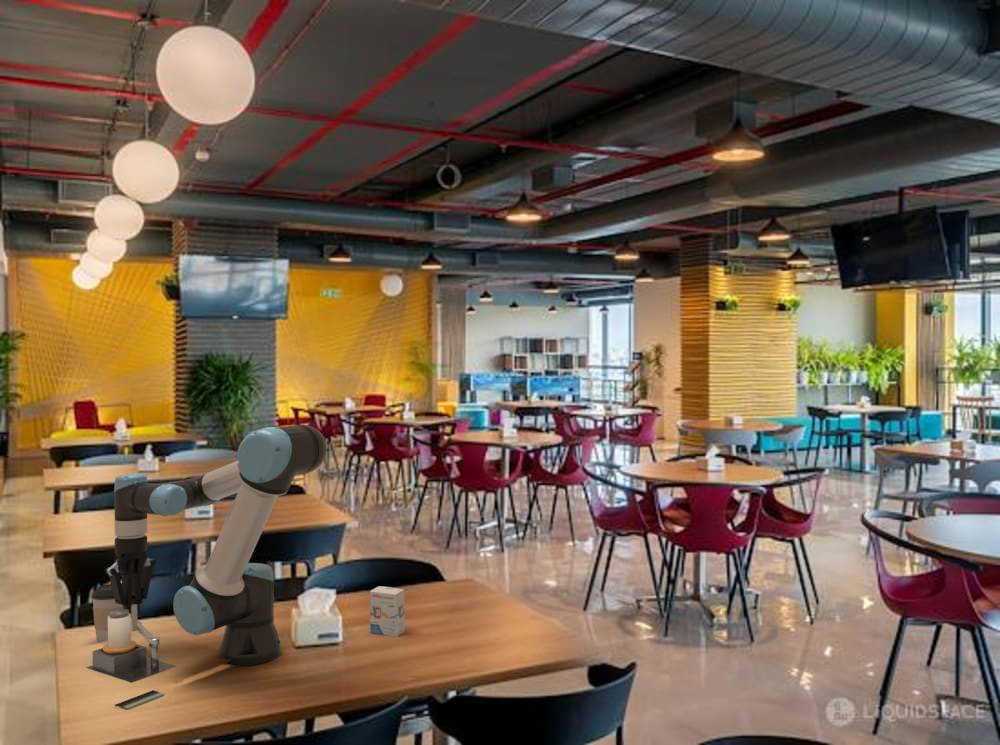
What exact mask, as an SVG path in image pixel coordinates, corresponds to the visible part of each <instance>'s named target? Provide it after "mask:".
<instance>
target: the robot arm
mask: <svg viewBox="0 0 1000 745" xmlns="http://www.w3.org/2000/svg"><path fill="white" fill-rule="evenodd" d="M327 446H328V444H327V440H326V439H325V437H324V435H323V434H322V432H320V430H319V429H317V428H316V427H313V426H311V425H309V424H295V425H285V426H277V427H275V426H267V427H263V428H259V429H257V430H253V431H251V432H250V433H249V434H247V435H246V436H245V437H244V439H243V440H242V441H241V442H240V444H239V446H238V449H237V453H236V461H234V462H233V461H232V463H231V462H230V463H228V464H226V465H223V466H220V467H218V468H217V469H214V470H211V471H208V472H206V473H205V474H204V473H203V474H202V475H199V476H197V477H193V478H188V479H181V480H175V481H170V482H163V483H152V482H151V483H149V482H148V476H147V475H146V474H145V473H124V474H118V475H117V476H116V477H115V479H114V488H113V489H114V490H113V495H114V496H113V498H114V499H113V500H114V504H113V506H114V535H115V539H114V553H115V558H114V562H113V564H112V565H111V566H110V567H106V568H105V570H104V571H105V573H106V575H107V576H108V578H109V583H110V584H111V586H112V590H113V594H114V598H115V602H116V604H121V605H123V609H127V610H129V613H130V614H131V633H132V632H136V631H137V621H138V617H139V616H140V614H141V613H140V612H141V610H140V605H142V604H143V602H144V600H146V599H147V598H148V596H149V595H148V594H149V589H150V586H151V584H150V583H151V579H152V574H153V569H154V568H155V565H156V564H157V560H156V559H151V558H150V557H149V555H148V553H147V550H148V537H147V533H148V515H153V516H154V515H155V516H157V515H158V516H162V517H168V516H177V515H179V514H180V513H181V512H182V511H185V510H189V509H194V508H199V507H207V506H211V505H213V504H216V503H218V502H220V500H221V499H224V498H227V497H229V496H232V495H235V494H236V496H235V498H234V501H233V503H232V504H231V507H230V510H229V513H228V514H227V517H226V519H225V521H224V524H223V526H222V528H221V531H220V533H219V535H218V537H217V539H216V542H215V545H214V547H213V548H212V551H211V554H210V556H209V558H208V560H207V563H206V564H203V565H201V566H199V567H198V568H197V569H196V571H195V573H194V576H193V578H192V580H191V582H190V584H189V585H184V586H182V587H181V588H179V589H178V590H177V591H176V593H175V594H174V597H173V603H172V604H173V608H172V609H173V613H174V615H175V619H176V621H177V623H178V624H179V625H180V627H181V628H182V629H183V630H184V631H185V632H186V633H188V634H191V635H193V636H200V635H204V634H208V633H209V634H210V633H211V632H213V631H215V630H218V629H221V628H222V627H224V626H225V628H224V632H223V635H222V640H221V644H220V645H219V648H218V656H219V657H220V658H223V659H225V660H229V661H227V662H224V663H223V664H224V665H228V666H229V665H230V666H238V667H239V666H240V667H241V666H245V667H246V666H252V665H253V666H254V665H259V664H263V663H264V664H265V663H267V662H270V661H273V660H275V659H277V658H278V657H279V656H281V654H282V643H281V640H280V639H279V638H280V637H279V634H278V631H277V629H276V628H277V627H276V625H275V620H274V619H275V618H274V608H275V604H274V599H275V598H274V596H275V594H274V592H275V591H274V587H275V586H274V584H275V579H274V571H273V568H272V567H271V566H270V565H269V564H265V563H259V562H250V559H251V558H252V556H253V553H254V550H255V548H256V546H257V544H258V541H259V540H260V538H261V535H262V533H263V531H264V528H265V526H266V524H267V521H268V519H269V518H270V516H271V513H272V511H273V508H274V506H275V504H276V503H277V502H276V501H277V499H278V497H280V496H283V495H286V494H287V493H288V492H289V489H290V487H291V485H292V483H293V481H294V478H295V477H296V476H301V475H304V474H308V473H311V472H314V471H315V470H317V469H318V468H319V467H320V466H322V465H323V463H324V461H325V459H326V457H327V451H328V447H327ZM121 583H122V584H121ZM137 632H138V631H137Z"/></svg>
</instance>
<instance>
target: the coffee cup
mask: <svg viewBox="0 0 1000 745" xmlns="http://www.w3.org/2000/svg"><path fill="white" fill-rule="evenodd" d="M121 584H122V582H121ZM91 594H92V595H91V599H92V602H93V603H92V604H93V606H92V612H93V622H94V629H95V636H96V644H101V643H103V642H108V616H110V612H111V611H114V610H118V609H123V605H121V604H116V602H115V598H114V594H113V590H112V586H111V583H109V584H103V585H99V586H98V587H96V589H95V591H93V592H91Z"/></svg>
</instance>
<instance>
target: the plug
mask: <svg viewBox="0 0 1000 745" xmlns="http://www.w3.org/2000/svg"><path fill="white" fill-rule="evenodd" d="M136 644H137V642H136V641H135V640H133V639H132V632H131V614H130V613H129V610H127V609H118V610H114V611H111V612H110V616H108V641H107V643H106V644H104V645H103V646H102V648H103V652H105V653H108V654H111V655H115V656H116V655H119V654H122V653H125V652H128V651H131V650H133V649H134V648H135V647H136Z"/></svg>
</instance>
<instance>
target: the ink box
mask: <svg viewBox="0 0 1000 745" xmlns="http://www.w3.org/2000/svg"><path fill="white" fill-rule="evenodd" d="M405 613H406V612H405V590H404V588H398V587H397V588H395V587H390V586H382V585H381V586H379V585H378V586H376V587H374V588H373V589H371V590H370V591H369V614H370V615H369V616H370V617H369V620H370V622H369V624H370V627H369V628H370V634H376V635H384V636H390V637H398V636H400V635H401V634H403V633H404V632H405V630H406V629H405V628H406V626H405V625H406V624H405V619H406V618H405Z"/></svg>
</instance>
